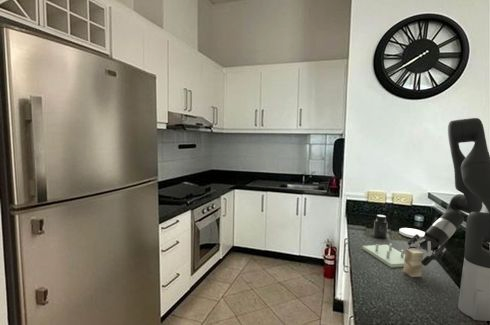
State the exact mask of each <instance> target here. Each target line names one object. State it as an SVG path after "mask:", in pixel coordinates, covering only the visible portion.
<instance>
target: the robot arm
mask: <svg viewBox="0 0 490 325" xmlns="http://www.w3.org/2000/svg"><path fill="white" fill-rule="evenodd" d="M485 132H486V131H485V127H484V124H483V122H482V120H481V119H480V118H478V117H470V118H462V119H454V120H451V121H449V122H448V125H447V136H448V137H447V138H448V142H449V149H450V153H451V159H452V164H453V172H454V186H455V190H456V191H459V192H460V193H457V194H455V195H454V196H452V197H451V199H450V201H449V203H448V206H447V208H446V209H445V212H444V213H443V214H442V215H441V216H440V217H439V218H438V219H437V220H436V221H435V222H433V223H432V225H430V227H428V229H427V230H426V231H424V232H425V235H424V236H423V237H420V236H419V235H418V234H416V235H415V236H414V237H413V238H410V240H408V241H407V244H408V246H409V247H408V248H407V249H412V248H415V249H417V250H424V251H426V252H427V255H426V256H424V257H423V260H422V261H421V263H422V266H424V267H426V266H428V265H429V264H430V263H431V262H432V261H437V262H439V261H440V260H441V259H442V258H443V256H444V255H445V254H446V253H447V251H448V250H447V248H446V247H445V246H444V245H445V244H446V243H447V242H448V241H449V239H450V238H451V237H452V236H453V235H454V234H455V232H456V231H457V229H459V227H460V226H461V225H463V223H464V221H465V219H464V216H463V215H462V214H460V213H459V212H463V213H467V214H468V215H467V217H466V222H465V223H466V224H465V239H464V240H465V241H464V255H463V256H464V258H463V265H462V272H461V280H460V289H459V298H458V303H457V304H458V305H457V307H458V310H459V311H460V312H461V313H463V314H464V315H465V316H468V317H470V318H471V319H473V321H480V322H487V321H490V250H488V249H486V248H484V247H483V243H489V244H490V152H489V148H488V144H487V138H486V133H485ZM471 142H473V143H474V144H473V147H472V149H471V150H470V151H469V153H468V154H467V155H466V156H465V155H464V154H463V152H462V150H461V148H460V144H461V143H471ZM483 205H484V207H485V209H486V210H487V212H483V211H482V209H483Z"/></svg>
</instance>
